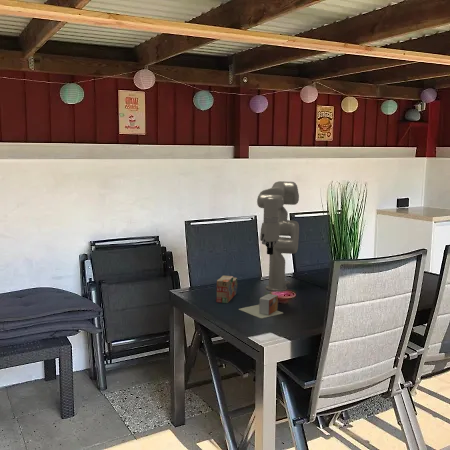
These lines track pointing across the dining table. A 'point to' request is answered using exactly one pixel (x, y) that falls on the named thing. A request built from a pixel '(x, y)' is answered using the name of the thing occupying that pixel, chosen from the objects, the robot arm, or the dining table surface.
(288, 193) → the robot arm
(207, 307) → the dining table surface
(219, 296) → the stack of blocks
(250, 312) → the mat
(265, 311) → the small box
